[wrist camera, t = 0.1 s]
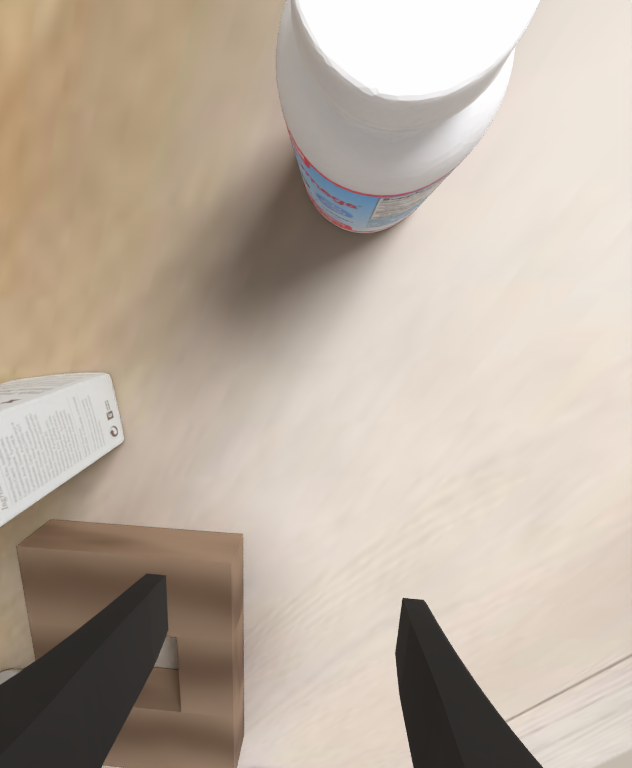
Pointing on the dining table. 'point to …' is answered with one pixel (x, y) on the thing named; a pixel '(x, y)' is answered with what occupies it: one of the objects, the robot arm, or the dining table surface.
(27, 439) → the skincare box
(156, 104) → the dining table surface
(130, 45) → the dining table surface
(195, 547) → the socket board
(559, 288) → the dining table surface
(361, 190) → the pill bottle
